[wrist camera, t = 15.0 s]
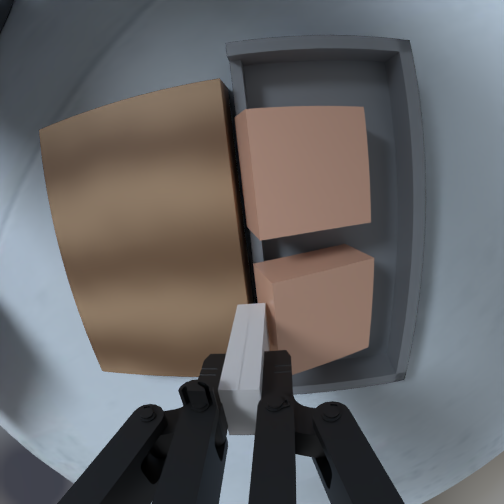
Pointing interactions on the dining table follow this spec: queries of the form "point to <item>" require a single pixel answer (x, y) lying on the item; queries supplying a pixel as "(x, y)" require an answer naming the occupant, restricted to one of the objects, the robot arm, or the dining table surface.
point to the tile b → (317, 304)
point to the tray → (380, 170)
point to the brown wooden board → (151, 226)
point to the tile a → (303, 169)
